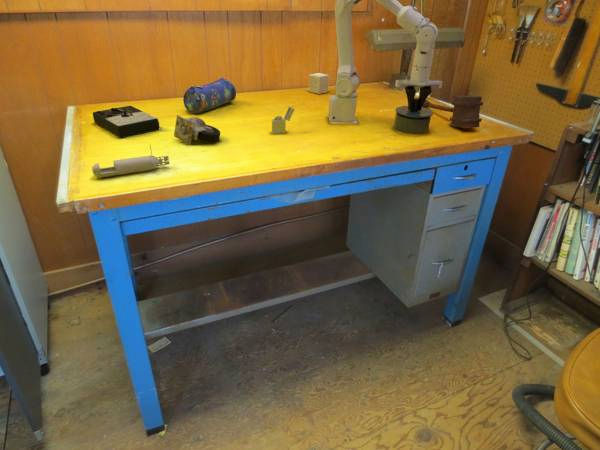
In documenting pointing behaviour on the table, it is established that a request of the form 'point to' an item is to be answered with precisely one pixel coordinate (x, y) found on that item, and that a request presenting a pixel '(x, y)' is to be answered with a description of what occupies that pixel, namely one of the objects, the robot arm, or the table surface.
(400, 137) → the table surface
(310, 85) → the product box
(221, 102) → the pencil case
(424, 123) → the tin
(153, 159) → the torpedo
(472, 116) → the hammer
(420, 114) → the lid
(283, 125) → the lighter
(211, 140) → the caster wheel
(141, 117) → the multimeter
